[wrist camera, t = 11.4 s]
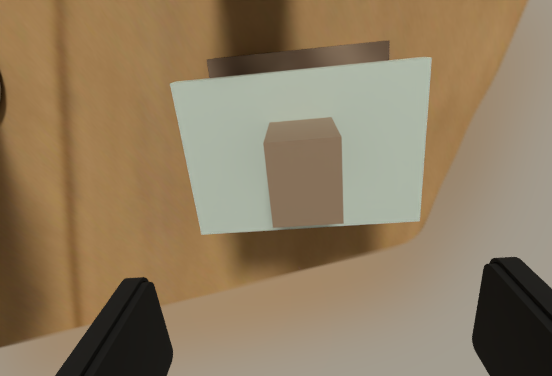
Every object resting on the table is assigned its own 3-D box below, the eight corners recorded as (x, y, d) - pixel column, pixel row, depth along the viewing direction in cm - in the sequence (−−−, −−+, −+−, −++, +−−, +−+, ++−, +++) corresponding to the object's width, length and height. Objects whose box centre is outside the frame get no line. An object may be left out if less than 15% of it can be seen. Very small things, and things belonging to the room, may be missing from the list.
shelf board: (205, 226, 27) (181, 276, 21) (175, 81, 23) (136, 94, 17) (414, 213, 26) (448, 262, 20) (424, 56, 21) (472, 61, 16)
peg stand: (231, 186, 37) (208, 237, 27) (210, 58, 32) (174, 65, 22) (381, 175, 36) (414, 225, 26) (385, 40, 31) (427, 39, 21)
